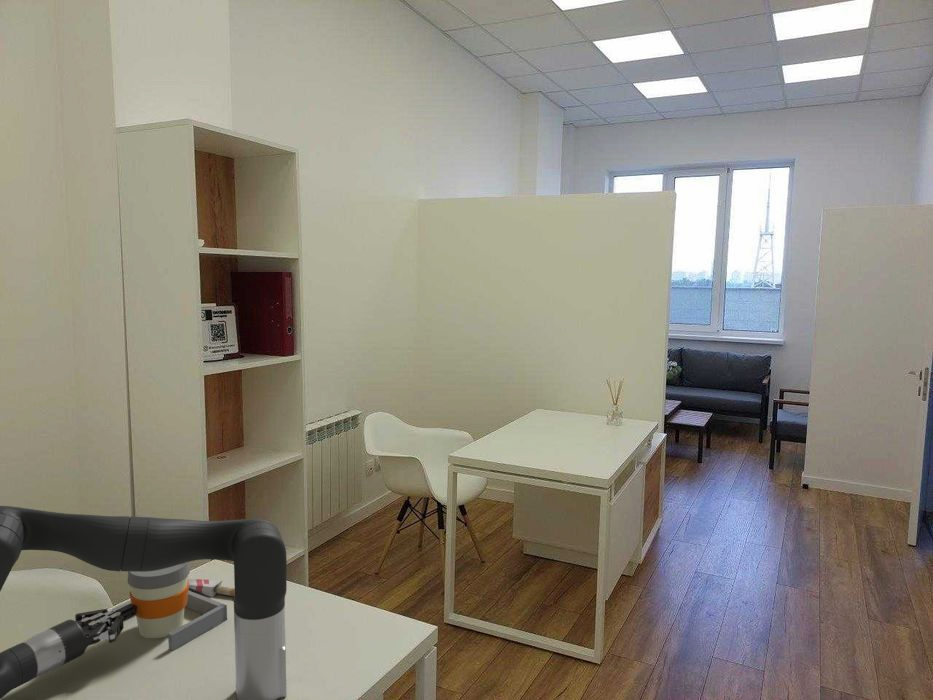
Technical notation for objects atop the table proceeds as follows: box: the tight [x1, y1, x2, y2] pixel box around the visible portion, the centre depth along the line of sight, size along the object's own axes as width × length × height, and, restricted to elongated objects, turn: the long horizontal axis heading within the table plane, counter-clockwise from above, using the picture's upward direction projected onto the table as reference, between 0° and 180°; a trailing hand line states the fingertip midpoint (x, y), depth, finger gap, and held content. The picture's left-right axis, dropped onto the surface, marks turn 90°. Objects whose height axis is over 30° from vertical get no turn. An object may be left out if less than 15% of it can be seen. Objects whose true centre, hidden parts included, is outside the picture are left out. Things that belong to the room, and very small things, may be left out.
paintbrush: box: [188, 578, 235, 598], centre depth 165 cm, size 4×3×20 cm
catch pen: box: [112, 589, 228, 652], centre depth 152 cm, size 14×20×4 cm
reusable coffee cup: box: [127, 562, 190, 639], centre depth 149 cm, size 13×13×15 cm
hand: (134, 608), depth 144 cm, fingers closed
